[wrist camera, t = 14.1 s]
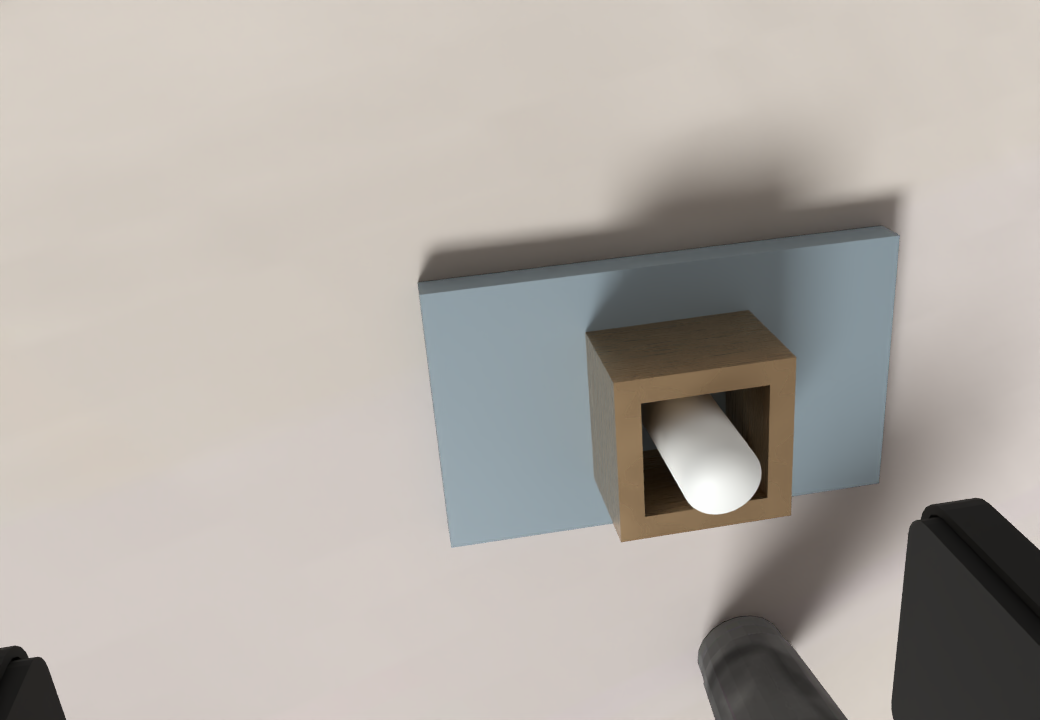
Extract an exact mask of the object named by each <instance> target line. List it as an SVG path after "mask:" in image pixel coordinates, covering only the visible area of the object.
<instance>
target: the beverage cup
mask: <svg viewBox="0 0 1040 720" xmlns="http://www.w3.org/2000/svg"><path fill="white" fill-rule="evenodd" d="M698 664H699V667H700V670H701V673H702V676H703V680H704V687H705V690H706V693H707V696H708V699H709V702H710V705H711V708H712V711H713V714H714V717H715V720H848V719H847V718H846V717H845V715H844V714H843V713H842V711H841V710H840V709H839V707H838V706H837V705H836V703H835V702H834V701H833V700H832V698H831V697H830V696H829V694H828V693H827V692H826V690H825V689H824V688H823V686H822V685H821V684H820V682H819V681H818V680H817V678H816V677H815V676H814V674H813V673H812V672H811V670H810V669H809V668H808V666H807V665H806V664H805V663H804V661H803V660H802V659H801V657H800V656H799V655H798V653H797V652H796V651H795V649H794V648H793V647H792V646H791V645H790V643H789V642H788V641H787V640H785V639H784V638H783V636H782V635H781V633H780V632H779V631H778V629H777V628H776V627H775V626H774V624H773V623H771V622H769V621H767V620H765V619H764V618H760V617H754V616H744V617H736V618H734V619H731V620H728V621H726V622H723V623H722V624H720V625H719V626H717V627H716V628H715V629H713V630H712V631H711V632H710V633H709V634H708V636H707V637H706V638H705V639H704V640H703V642H702V645H701V647H700V649H699V653H698Z"/></svg>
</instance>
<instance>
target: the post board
mask: <svg viewBox="0 0 1040 720" xmlns="http://www.w3.org/2000/svg"><path fill="white" fill-rule="evenodd" d="M899 237H900V235H898V234H896V233H894V232H893V231H891V230H889V229H887V228H886V227H884V226H875V227H867V228H859V229H850V230H842V231H834V232H826V233H818V234H810V235H801V236H793V237H785V238H777V239H769V240H761V241H752V242H744V243H736V244H728V245H720V246H712V247H703V248H695V249H687V250H679V251H671V252H663V253H654V254H646V255H638V256H630V257H622V258H614V259H605V260H597V261H589V262H581V263H573V264H565V265H556V266H548V267H540V268H532V269H524V270H516V271H507V272H499V273H491V274H483V275H475V276H467V277H458V278H450V279H442V280H434V281H426V282H418V290H419V298H420V306H421V314H422V321H423V329H424V337H425V345H426V353H427V361H428V369H429V377H430V385H431V393H432V401H433V409H434V417H435V424H436V432H437V440H438V448H439V456H440V464H441V472H442V480H443V488H444V496H445V504H446V512H447V519H448V527H449V534H450V541H451V548H453V547H459V546H466V545H473V544H479V543H486V542H492V541H499V540H506V539H512V538H519V537H526V536H532V535H539V534H546V533H552V532H559V531H565V530H572V529H579V528H585V527H592V526H599V525H605V524H612V523H613V522H612V519H611V517H610V515H609V512H608V510H607V508H606V505H605V503H604V501H603V498H602V496H601V494H600V491H599V489H598V487H597V484H596V482H595V479H594V471H593V454H592V437H591V421H590V404H589V387H588V371H587V354H586V338H585V332H590V331H597V330H605V329H612V328H620V327H627V326H634V325H642V324H649V323H657V322H664V321H671V320H679V319H686V318H693V317H701V316H708V315H716V314H723V313H730V312H738V311H745V310H749V311H750V312H751V313H752V314H753V315H754V316H755V317H756V318H757V319H758V320H759V321H760V322H761V323H762V324H763V325H764V326H765V327H767V328H768V329H769V330H770V331H771V332H772V333H773V334H774V335H775V336H776V337H777V338H778V339H779V340H780V341H781V342H782V343H783V344H784V345H785V346H786V347H787V348H788V349H789V350H790V351H791V352H792V353H793V354H794V355H795V356H796V386H795V414H794V442H793V470H792V496H798V495H804V494H811V493H818V492H824V491H831V490H838V489H844V488H851V487H857V486H864V485H871V484H877V483H879V476H880V464H881V452H882V440H883V428H884V416H885V404H886V392H887V381H888V369H889V357H890V345H891V333H892V321H893V309H894V297H895V285H896V273H897V261H898V249H899ZM725 413H726V391H725V392H718V393H711V394H704V395H697V396H690V397H683V398H676V399H669V400H662V401H655V402H648V403H641V420H642V447H643V451H647V450H653V449H658V451H659V452H660V454H661V456H662V458H663V459H664V461H665V463H666V465H667V467H668V468H669V470H670V472H671V474H672V475H673V477H674V479H675V481H676V482H677V484H678V486H679V488H680V489H681V491H682V493H683V495H684V496H685V498H686V500H687V501H688V503H689V504H690V505H691V506H692V507H693V508H695V509H696V510H698V511H700V512H703V513H706V514H724V513H728V512H731V511H734V510H736V509H738V508H740V507H741V506H743V505H744V504H745V503H746V502H748V501H749V500H750V499H751V497H752V496H753V495H754V494H755V492H756V490H757V489H758V486H759V484H760V480H761V465H760V462H759V460H758V458H757V456H756V455H755V454H754V452H753V451H752V450H751V448H750V447H749V446H748V444H747V443H746V442H745V440H744V439H743V438H742V436H741V435H740V434H739V432H738V431H737V430H736V428H735V427H734V426H733V424H732V423H731V422H730V420H729V419H728V418H727V416H726V415H725Z"/></svg>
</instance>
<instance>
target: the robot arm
mask: <svg viewBox="0 0 1040 720" xmlns="http://www.w3.org/2000/svg"><path fill="white" fill-rule="evenodd" d="M892 715H893V719H894V720H1040V550H1039V549H1038V548H1037V547H1036V546H1035V545H1034V544H1033V543H1031V542H1030V541H1029V540H1028V539H1027V538H1026V537H1025V536H1024V535H1023V534H1022V533H1021V532H1020V531H1018V530H1017V529H1016V528H1015V527H1014V526H1013V525H1012V524H1011V523H1010V522H1009V521H1008V520H1007V519H1005V518H1004V517H1003V516H1002V515H1001V514H1000V513H999V512H998V511H997V510H996V509H995V508H993V507H992V506H991V505H990V504H989V503H988V502H986V501H985V500H983V499H980V498H972V499H965V500H959V501H952V502H946V503H939V504H933V505H930V506H928V507H926V508H925V510H924V511H923V513H922V517H921V520H916V521H914V522H912V524H911V526H910V528H909V533H908V543H907V553H906V562H905V572H904V582H903V592H902V602H901V612H900V622H899V632H898V642H897V652H896V662H895V672H894V682H893V692H892ZM0 720H66V718H65V715H64V712H63V709H62V707H61V704H60V701H59V698H58V695H57V692H56V689H55V686H54V683H53V681H52V678H51V675H50V672H49V669H48V667H47V665H46V662H45V661H44V660H43V659H42V658H41V657H34V658H28V656H27V653H26V652H25V651H24V650H23V649H22V648H21V647H19V646H10V647H4V648H0Z"/></svg>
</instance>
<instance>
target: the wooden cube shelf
mask: <svg viewBox="0 0 1040 720" xmlns="http://www.w3.org/2000/svg"><path fill="white" fill-rule="evenodd" d="M585 338H586V354H587V371H588V387H589V404H590V421H591V437H592V454H593V471H594V479H595V482H596V484H597V487H598V489H599V491H600V494H601V496H602V498H603V501H604V503H605V505H606V508H607V510H608V512H609V515H610V517H611V519H612V522H613V524H614V526H615V529H616V531H617V534H618V536H619V538H620V541H621V542H625V541H632V540H638V539H644V538H651V537H657V536H663V535H670V534H676V533H682V532H689V531H695V530H701V529H708V528H714V527H720V526H727V525H733V524H739V523H746V522H752V521H758V520H765V519H771V518H777V517H784V516H790V515H791V498H792V470H793V442H794V414H795V386H796V356H795V355H794V354H793V353H792V352H791V351H790V350H789V349H788V348H787V347H786V346H785V345H784V344H783V343H782V342H781V341H780V340H779V339H778V338H777V337H776V336H775V335H774V334H773V333H772V332H771V331H770V330H769V329H768V328H767V327H765V326H764V325H763V324H762V323H761V322H760V321H759V320H758V319H757V318H756V317H755V316H754V315H753V314H752V313H751V312H750V311H749V310H745V311H738V312H730V313H723V314H716V315H708V316H701V317H693V318H686V319H679V320H671V321H664V322H657V323H649V324H642V325H634V326H627V327H620V328H612V329H605V330H597V331H590V332H585ZM725 391H726V413H725V415H726V416H727V418H728V419H729V420H730V422H731V423H732V424H733V426H734V427H735V428H736V430H737V431H738V432H739V434H740V435H741V436H742V438H743V439H744V440H745V442H746V443H747V444H748V446H749V447H750V448H751V450H752V451H753V452H754V454H755V455H756V456H757V458H758V460H759V462H760V465H761V480H760V484H759V486H758V489H757V490H756V492H755V494H754V495H753V496H752V497H751V499H750V500H749V501H748V502H746V503H745V504H744V505H743V506H741V507H740V508H738V509H736V510H734V511H731V512H728V513H724V514H706V513H703V512H700V511H698V510H696V509H695V508H693V507H692V506H691V505H690V504H689V503H688V501H687V500H686V498H685V496H684V495H683V493H682V491H681V489H680V488H679V486H678V484H677V482H676V481H675V479H674V477H673V475H672V474H671V472H670V470H669V468H668V467H667V465H666V463H665V461H664V459H663V458H662V456H661V454H660V452H659V451H658V449H653V450H647V451H643V447H642V420H641V403H648V402H655V401H662V400H669V399H676V398H683V397H690V396H697V395H704V394H711V393H718V392H725Z"/></svg>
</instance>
